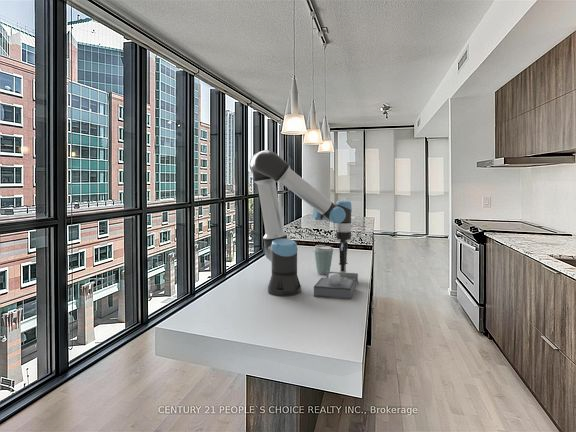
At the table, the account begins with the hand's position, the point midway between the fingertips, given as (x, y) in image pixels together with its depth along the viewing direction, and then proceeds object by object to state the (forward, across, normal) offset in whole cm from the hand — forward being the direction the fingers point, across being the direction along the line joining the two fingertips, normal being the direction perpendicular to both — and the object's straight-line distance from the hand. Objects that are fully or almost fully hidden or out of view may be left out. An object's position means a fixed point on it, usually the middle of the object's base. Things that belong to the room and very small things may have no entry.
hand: (343, 276), depth 200 cm
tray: (+1, -12, 0) cm, 12 cm away
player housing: (+1, -25, 0) cm, 25 cm away
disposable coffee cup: (+2, +11, +12) cm, 16 cm away
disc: (0, -12, 0) cm, 12 cm away
